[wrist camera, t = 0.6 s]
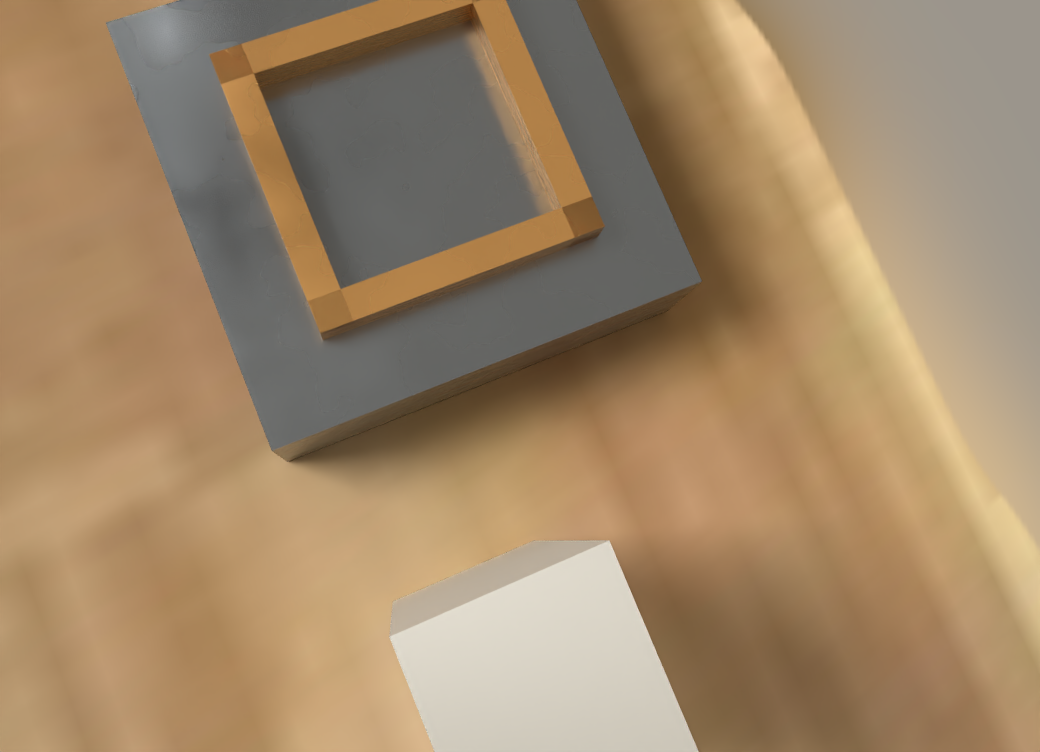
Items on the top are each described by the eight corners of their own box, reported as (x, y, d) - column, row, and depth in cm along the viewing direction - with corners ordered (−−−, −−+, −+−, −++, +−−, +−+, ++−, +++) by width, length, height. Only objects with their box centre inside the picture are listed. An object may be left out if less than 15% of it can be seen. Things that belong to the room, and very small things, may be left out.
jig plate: (139, 83, 34) (95, 4, 29) (514, -36, 36) (532, -127, 31) (287, 461, 32) (267, 447, 27) (667, 310, 35) (711, 272, 30)
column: (392, 601, 32) (389, 636, 20) (533, 540, 33) (609, 540, 21) (450, 749, 31) (482, 873, 20) (592, 683, 32) (704, 765, 20)
